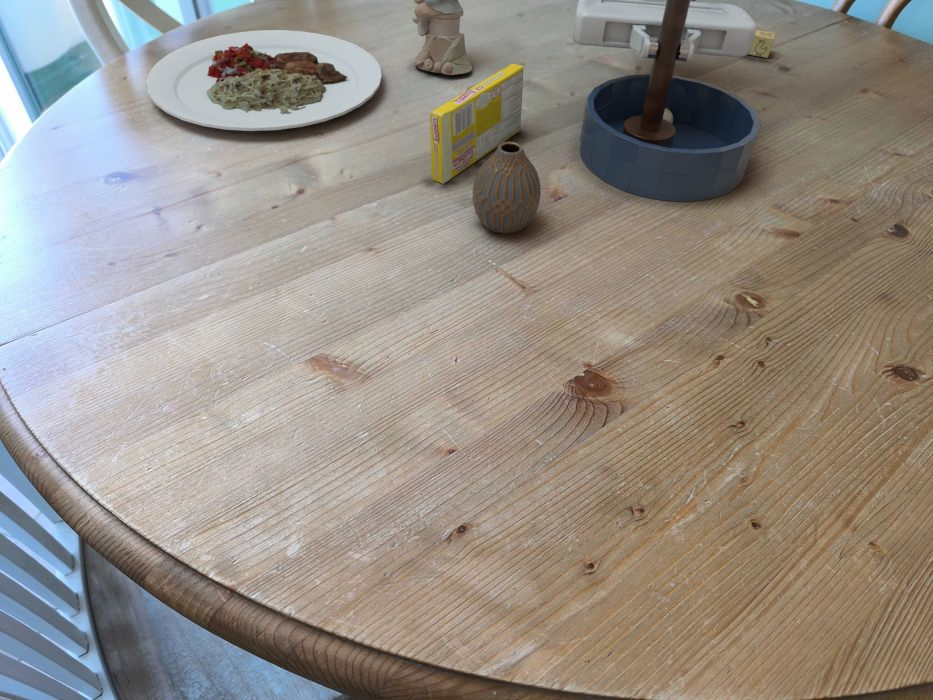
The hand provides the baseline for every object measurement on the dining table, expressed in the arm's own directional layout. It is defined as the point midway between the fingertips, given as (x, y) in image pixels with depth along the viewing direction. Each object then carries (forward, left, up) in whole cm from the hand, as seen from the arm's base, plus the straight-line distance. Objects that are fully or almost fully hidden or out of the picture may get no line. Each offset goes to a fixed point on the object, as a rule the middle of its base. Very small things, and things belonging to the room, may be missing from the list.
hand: (667, 53), depth 81 cm
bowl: (-2, -1, -13) cm, 13 cm away
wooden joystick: (0, -1, -11) cm, 11 cm away
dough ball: (-2, -7, -11) cm, 13 cm away
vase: (+16, +16, -13) cm, 26 cm away
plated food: (+49, -11, -13) cm, 52 cm away
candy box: (+20, +2, -13) cm, 24 cm away
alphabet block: (-20, -36, -13) cm, 43 cm away
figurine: (+27, -22, -13) cm, 37 cm away
